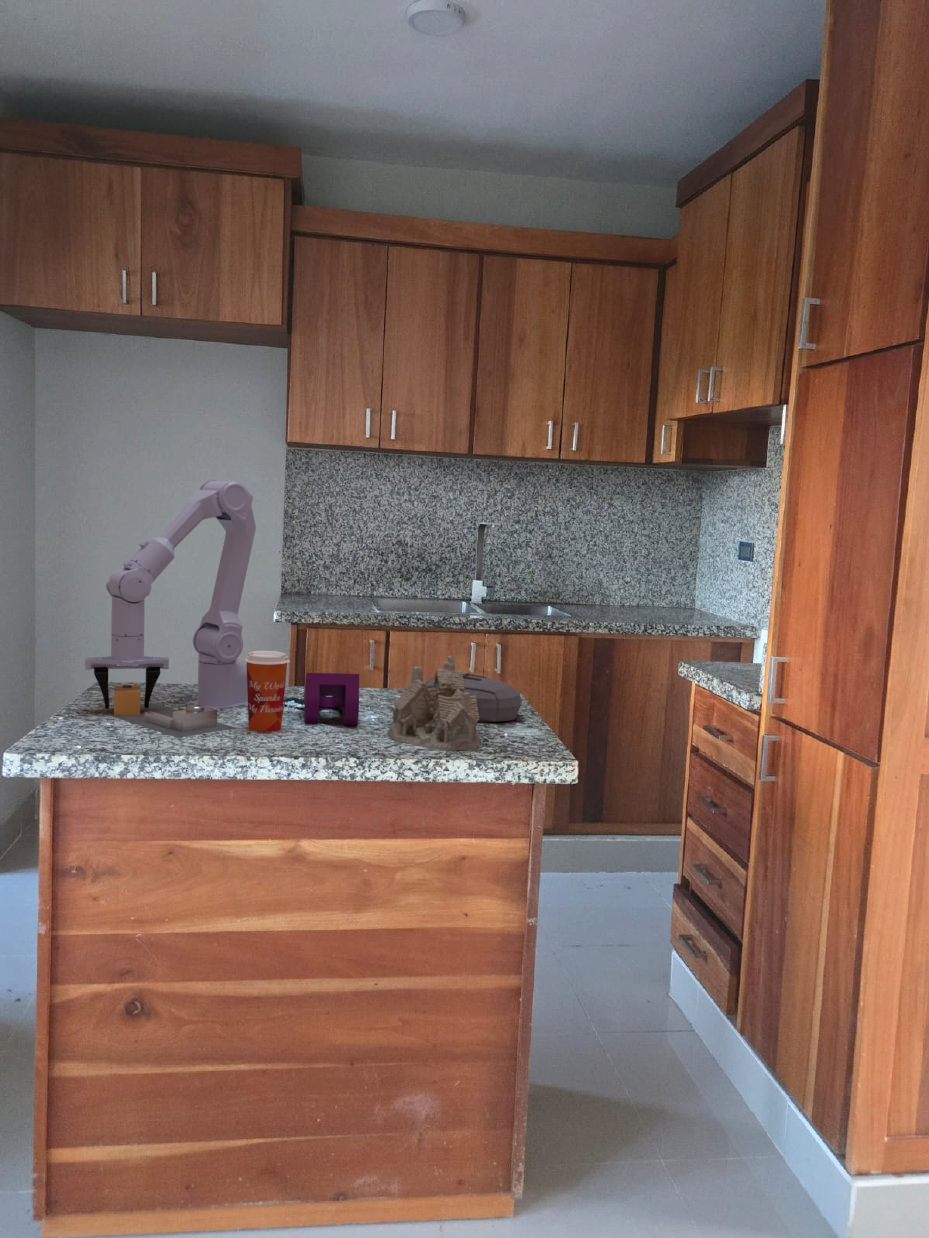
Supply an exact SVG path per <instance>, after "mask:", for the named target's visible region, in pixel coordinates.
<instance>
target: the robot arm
mask: <svg viewBox="0 0 929 1238" xmlns="http://www.w3.org/2000/svg"><path fill="white" fill-rule="evenodd" d="M253 500H254V497H253V495H252V493H251V492H250V491H249V489H248V488H247V487H246V485H245V484H244V483H242V482H241V481H240V480H239V481H238V480H229V481H228V480H216V479H209V480H206V481H204V482H203V483H202V484H201V485H200V487H199V489H196V490H195V491H194V492H193V493H192V495H191V496H190V499H189V500H188V502H187V503H186V504H185V505H184V507H183V508H182V509H181V510H180V511H179V513H178V514H177V515H176V516H175V517H174V519H173V520H172V521H171V523H170V524H169V525H168V526H167V527H166V529H165V530H164V531H163V532H162V533H161V535H160V536H158V537H149V538H148V539H147V540H145V539H143V540H142V541H141V542H140V543H139V549H138V550H137V551H136V552H135V554H133V556H132V557H130V559H129V560H124V562H123V564H122V566H123V568H120V569H117V570H115V571H113V573H111V574H110V576H109V578H108V582H107V583H105V588H106V591H107V593H108V595H109V596H110V597H111V622H110V623H111V625H110V626H111V628H110V629H111V631H110V632H111V634H110V635H111V640H110V643H111V644H110V645H111V646H110V647H111V648H110V650H111V651H110V656H100V657H99V656H98V657H96V656H94V657H85V661H84V663H85V665H84V666H85V668H84V669H85V670H87V671H88V670H90V671H91V670H93V675H94V678H95V679H96V681H97V683H98V685H99V688H100V691H101V694H102V696H103V702H104V709H109V708H110V694H109V693H110V692H109V670H111V669H112V670H114V669H115V670H117V669H118V670H119V669H120V670H126V669H128V670H129V669H133V670H134V669H135V670H136V669H137V670H138V669H139V670H141V669H142V670H143V669H145V692H144V700H143V701H144V703H143V704H144V707H145V708H149V703H150V700H151V696H152V695H153V694H152V693H153V690H154V688H155V686H156V684H157V682H158V680H159V677H160V675H161V670H162V669H163V670H169V668H170V665H169V664H170V662H169V661H170V658H169V657H168V656H167V657H160V656H145V598H147V597H148V596H149V595H150V594H151V591H152V584H153V583H154V582H155V581H156V579H158V577H159V576H160V575H161V574H162V572H164V570H166V568H167V567H168V566H169V564H171V563H172V561H173V560H174V559H175V549H176V547H177V546H179V545H180V543H182V542H183V540H185V539H186V537H188V535H190V533H191V532H193V530H194V529H195V528H196V527H197V526H198V525H200V523H201V522H202V521H204V520H207V519H213V518H215V519H216V520H217V521H218V522H219V524H220V526H222V527H223V529H224V531H225V535H224V542H223V546H222V551H221V556H220V560H219V563H218V569H217V573H216V578H215V584H214V588H213V594H212V597H211V603H210V607H209V610H208V611H207V612H206V613H205V614H204V615H203V616H202V617H201V620H200V621H201V622H200V624H199V626H198V628H197V629H196V630H195V632H194V634H193V637H192V646H193V648H194V650H195V651H196V652H197V653H198V659H197V660H198V666H197V700H196V699H195V700H190V701H188V704H189V703H190V704H200V705H204V706H205V707H210V708H213V709H219V708H226V707H233V706H240V705H248V694H247V663H246V662H245V660H242V659H238V658H239V657H240V656H241V654H242V651H243V648H244V642H243V641H244V640H243V637H242V633H243V624H242V621H241V620H240V618H239V615H238V614H239V611H240V604H241V601H242V596H243V595H242V594H243V590H244V586H245V581H246V577H247V572H248V569H249V568H248V567H249V562H250V558H251V553H252V548H253V544H254V539H255V534H256V528H257V527H256V526H257V525H256V521H255V515H254V511H253V507H252V504H253Z"/></svg>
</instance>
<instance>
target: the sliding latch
mask: <svg viewBox="0 0 929 1238" xmlns="http://www.w3.org/2000/svg"><path fill="white" fill-rule="evenodd" d="M177 710H178V711H174V712H173V718H171V717H168V716H165V715H161V714H158V713H155V712H152V711H149V712H145V721H147V722H150V723H153V724H156V725H159V726H162V727H165V728H169V729H176V730H179V731H182V732H184V731H191V730H197V729H203V728H209V727H216V726H217V722H218V708H214V707H213V708H210V707H205V706H204V705H200V704H193V703H190V704H187V705H186V706H180V707H178V709H177Z"/></svg>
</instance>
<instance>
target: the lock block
mask: <svg viewBox="0 0 929 1238" xmlns="http://www.w3.org/2000/svg"><path fill="white" fill-rule="evenodd" d="M140 704H141V686H140V684H121V685H120V684H119V685H117V684H116V685H114V686H113V708H114V715H140Z"/></svg>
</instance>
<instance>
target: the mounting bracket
mask: <svg viewBox="0 0 929 1238" xmlns="http://www.w3.org/2000/svg"><path fill="white" fill-rule="evenodd" d="M303 705H304V724H319V719H320V717H319V715H320V709H337V710H338V709H339V710H340V709H342V723H343V726H358V723H359V713H360V673H333V672H331V673H330V672H329V673H328V672H305V682H304V692H303Z"/></svg>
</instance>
